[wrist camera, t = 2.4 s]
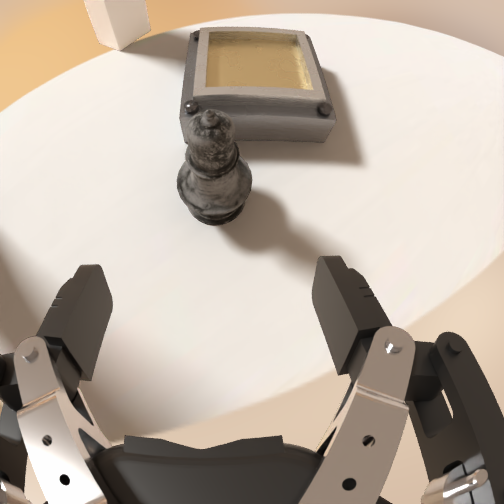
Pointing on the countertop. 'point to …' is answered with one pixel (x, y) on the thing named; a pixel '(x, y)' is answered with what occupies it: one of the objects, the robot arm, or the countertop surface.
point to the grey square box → (258, 83)
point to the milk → (118, 21)
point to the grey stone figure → (213, 169)
